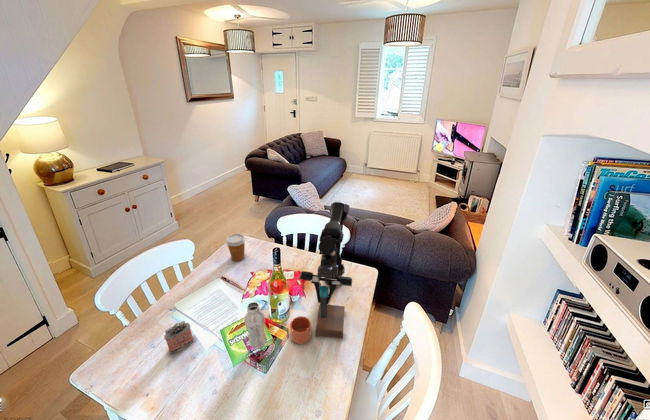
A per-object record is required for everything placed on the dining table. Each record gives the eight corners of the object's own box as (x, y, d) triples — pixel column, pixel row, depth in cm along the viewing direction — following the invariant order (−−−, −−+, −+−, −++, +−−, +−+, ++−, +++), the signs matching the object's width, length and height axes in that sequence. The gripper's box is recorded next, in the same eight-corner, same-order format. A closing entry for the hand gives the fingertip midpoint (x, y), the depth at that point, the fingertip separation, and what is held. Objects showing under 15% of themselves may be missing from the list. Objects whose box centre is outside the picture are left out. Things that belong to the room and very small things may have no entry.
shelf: (319, 311, 110) (319, 303, 108) (344, 313, 109) (344, 306, 107) (315, 336, 99) (315, 328, 97) (342, 339, 98) (343, 331, 96)
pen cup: (304, 323, 104) (304, 313, 101) (314, 337, 98) (314, 326, 96) (287, 332, 100) (286, 322, 98) (296, 347, 94) (296, 336, 92)
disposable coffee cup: (225, 261, 138) (221, 242, 133) (234, 251, 147) (231, 232, 141) (242, 264, 137) (239, 244, 132) (250, 253, 145) (248, 234, 140)
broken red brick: (192, 335, 98) (186, 315, 94) (195, 341, 96) (190, 321, 92) (168, 349, 93) (160, 329, 89) (171, 356, 91) (164, 335, 86)
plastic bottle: (264, 359, 90) (259, 315, 82) (245, 355, 91) (238, 312, 83) (271, 342, 96) (267, 300, 87) (253, 339, 97) (247, 297, 88)
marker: (323, 311, 101) (323, 284, 96) (329, 315, 99) (330, 288, 94) (317, 315, 99) (317, 288, 94) (323, 320, 97) (324, 292, 92)
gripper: (300, 252, 94) (292, 299, 89) (353, 259, 91) (348, 307, 86) (305, 258, 104) (299, 300, 99) (353, 263, 101) (349, 307, 96)
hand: (323, 303), depth 95 cm, fingers closed on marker, 3 cm apart
